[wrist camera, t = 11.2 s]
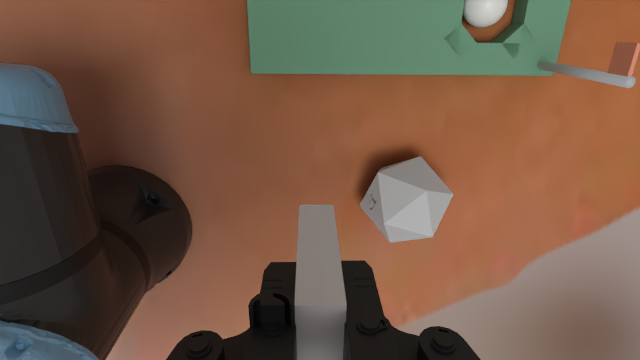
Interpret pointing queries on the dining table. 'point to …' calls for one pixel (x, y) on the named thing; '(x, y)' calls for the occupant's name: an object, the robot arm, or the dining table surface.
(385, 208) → the die
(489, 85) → the dining table surface
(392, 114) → the dining table surface
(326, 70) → the mini golf green
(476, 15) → the ball
